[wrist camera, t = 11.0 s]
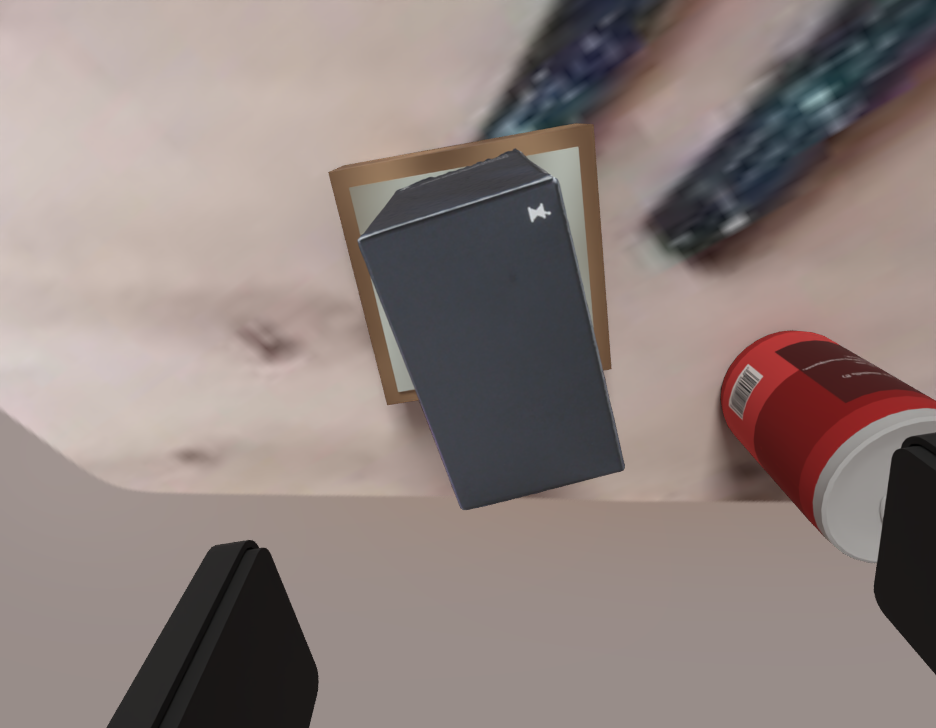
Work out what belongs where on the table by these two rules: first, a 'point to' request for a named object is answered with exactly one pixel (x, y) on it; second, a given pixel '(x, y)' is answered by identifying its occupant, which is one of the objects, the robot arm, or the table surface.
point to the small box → (495, 329)
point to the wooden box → (377, 180)
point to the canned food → (824, 430)
